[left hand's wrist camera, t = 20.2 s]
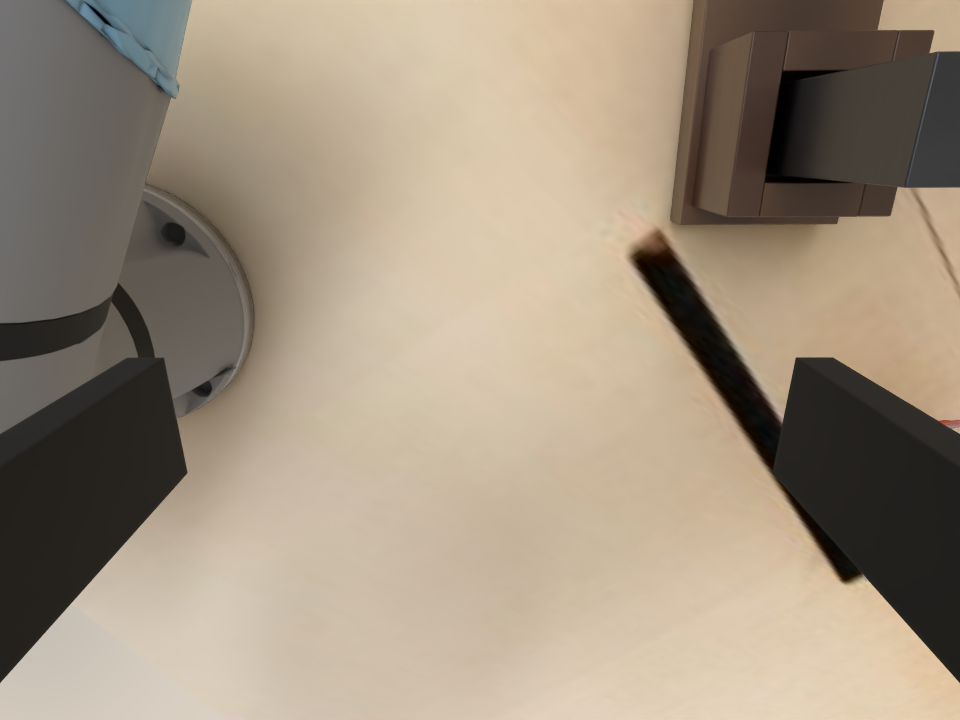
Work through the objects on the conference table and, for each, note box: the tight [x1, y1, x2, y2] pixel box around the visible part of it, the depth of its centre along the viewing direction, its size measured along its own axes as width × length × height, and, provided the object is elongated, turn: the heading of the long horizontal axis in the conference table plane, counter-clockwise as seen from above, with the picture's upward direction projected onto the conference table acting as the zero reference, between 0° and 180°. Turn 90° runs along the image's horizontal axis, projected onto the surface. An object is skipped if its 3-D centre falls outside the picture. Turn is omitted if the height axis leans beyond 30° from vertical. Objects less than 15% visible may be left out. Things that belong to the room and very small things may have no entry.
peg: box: [766, 51, 960, 188], centre depth 25 cm, size 4×4×14 cm
